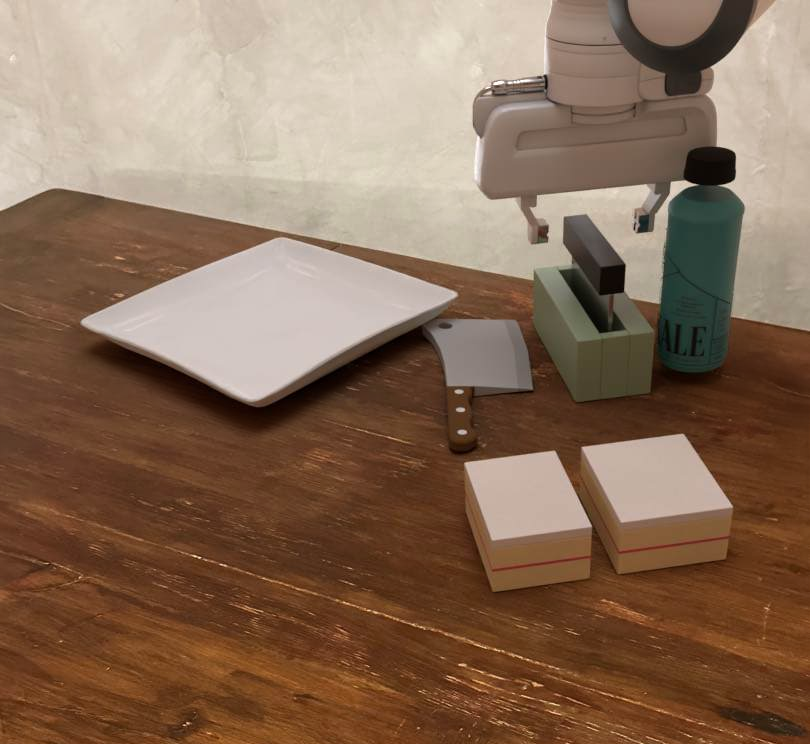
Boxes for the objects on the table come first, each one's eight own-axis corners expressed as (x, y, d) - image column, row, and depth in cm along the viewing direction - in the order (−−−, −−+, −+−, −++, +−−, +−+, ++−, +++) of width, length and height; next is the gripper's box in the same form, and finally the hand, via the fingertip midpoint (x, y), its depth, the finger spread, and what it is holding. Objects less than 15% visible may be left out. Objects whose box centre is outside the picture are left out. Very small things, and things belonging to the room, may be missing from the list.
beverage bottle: (721, 354, 105) (748, 136, 93) (730, 389, 99) (759, 163, 87) (650, 354, 105) (667, 138, 93) (655, 389, 100) (674, 165, 88)
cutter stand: (599, 317, 112) (602, 260, 109) (650, 393, 100) (655, 331, 96) (532, 325, 112) (533, 268, 108) (575, 402, 99) (577, 341, 96)
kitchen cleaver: (546, 441, 93) (425, 441, 93) (545, 452, 93) (425, 452, 93) (522, 315, 112) (422, 315, 112) (521, 324, 113) (422, 325, 113)
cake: (678, 483, 88) (683, 432, 86) (726, 559, 80) (734, 506, 77) (578, 496, 88) (580, 446, 85) (617, 575, 80) (620, 522, 77)
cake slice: (554, 500, 87) (555, 449, 85) (590, 579, 79) (592, 526, 77) (465, 512, 87) (463, 462, 84) (492, 593, 79) (491, 540, 76)
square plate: (464, 325, 113) (463, 288, 110) (258, 438, 97) (251, 399, 95) (285, 261, 128) (280, 228, 126) (82, 351, 113) (73, 315, 111)
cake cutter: (582, 328, 111) (586, 213, 104) (618, 386, 101) (626, 264, 94) (560, 331, 110) (563, 216, 103) (595, 389, 101) (600, 267, 94)
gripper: (480, 93, 87) (481, 262, 95) (734, 69, 89) (713, 237, 97) (464, 72, 92) (466, 234, 100) (705, 50, 94) (688, 211, 102)
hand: (590, 236), depth 99 cm, fingers open, 8 cm apart
